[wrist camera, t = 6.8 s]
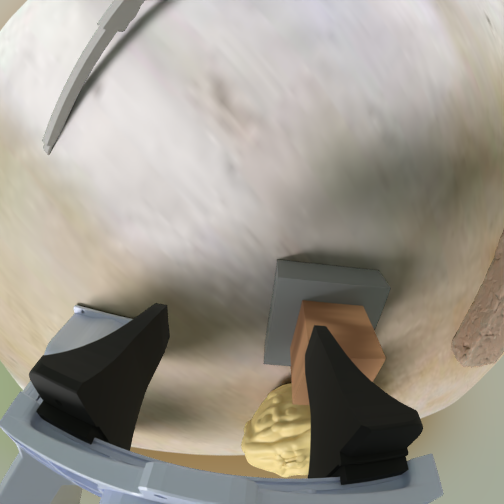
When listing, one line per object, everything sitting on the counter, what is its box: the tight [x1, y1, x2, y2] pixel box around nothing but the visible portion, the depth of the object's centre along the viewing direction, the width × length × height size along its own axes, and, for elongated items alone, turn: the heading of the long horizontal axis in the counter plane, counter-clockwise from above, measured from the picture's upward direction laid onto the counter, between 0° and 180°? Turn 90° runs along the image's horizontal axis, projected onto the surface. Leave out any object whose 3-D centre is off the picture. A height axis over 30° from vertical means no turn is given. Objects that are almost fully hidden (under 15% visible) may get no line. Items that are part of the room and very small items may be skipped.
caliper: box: [42, 0, 145, 155], centre depth 14 cm, size 20×1×6 cm, turn 134°
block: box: [290, 300, 386, 405], centre depth 18 cm, size 5×5×6 cm
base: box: [264, 260, 390, 366], centre depth 22 cm, size 9×9×3 cm
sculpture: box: [241, 383, 311, 478], centre depth 24 cm, size 12×12×11 cm
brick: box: [451, 230, 504, 368], centre depth 20 cm, size 17×8×5 cm, turn 170°
